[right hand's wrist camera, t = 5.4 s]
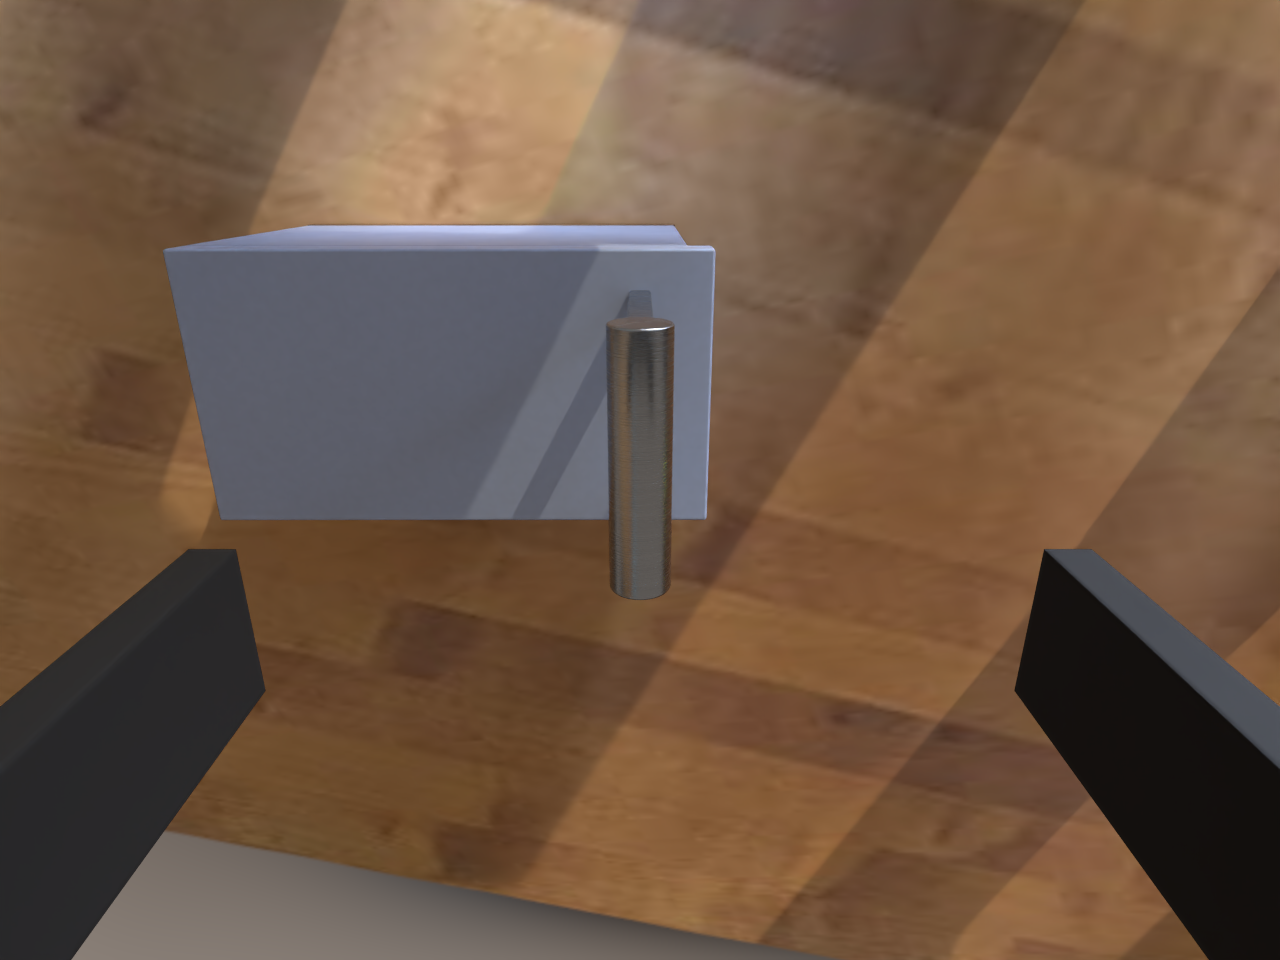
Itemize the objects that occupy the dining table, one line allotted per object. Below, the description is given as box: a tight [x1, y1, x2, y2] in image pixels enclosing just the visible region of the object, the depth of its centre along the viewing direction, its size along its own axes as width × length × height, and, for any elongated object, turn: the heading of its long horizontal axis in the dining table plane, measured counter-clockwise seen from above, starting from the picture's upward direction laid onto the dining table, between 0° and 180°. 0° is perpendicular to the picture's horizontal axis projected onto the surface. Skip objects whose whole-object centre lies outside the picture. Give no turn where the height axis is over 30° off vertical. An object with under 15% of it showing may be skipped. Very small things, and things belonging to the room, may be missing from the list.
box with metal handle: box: [163, 246, 715, 600], centre depth 23 cm, size 17×9×9 cm, turn 90°
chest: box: [187, 224, 687, 246], centre depth 32 cm, size 16×9×11 cm, turn 90°
